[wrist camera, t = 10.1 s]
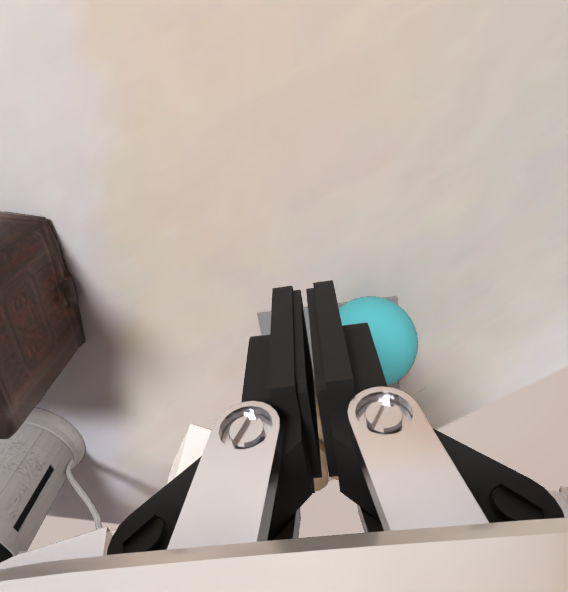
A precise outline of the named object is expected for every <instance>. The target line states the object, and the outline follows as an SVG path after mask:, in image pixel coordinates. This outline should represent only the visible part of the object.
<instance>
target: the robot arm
mask: <svg viewBox="0 0 568 592" xmlns="http://www.w3.org/2000/svg"><path fill="white" fill-rule="evenodd" d="M313 284H314V288H310V289H306V291H307V302H308V313H309V324H310V335H311V346H312V357H313V368H314V377H313V368H312V361H311V355H310V348H309V342H308V335H307V329H306V322H305V316H304V310H303V303H302V297H301V291H300V290H295V291H293V287H292V286H287V287H280V288H273V293H272V311H271V329H270V335H262V336H254V337H250V340H249V347H248V355H247V363H246V370H245V378H244V386H243V394H242V402H241V403H239V404H236V405H233V406H232V407H230V408H228V409H227V410H225V411H224V412H223V413H222V414H221V415H220V416H219V417H218V418H217V420H216V422H215V423H214V425H213V427H212V430H211V433H210V435H209V438H208V441H207V443H206V446H205V449H204V451H203V454H202V456H201V457H200V458H198V459H197V460H196V461H195V462H194V463H192V464H191V465H190V466H189V467H187V468H186V469H185V470H184V471H183V472H181V473H180V474H179V475H178V476H177V477H175V478H174V479H173V480H172V481H170V482H169V483H168V484H167V485H166V486H164V487H163V488H162V489H161V490H160V491H158V492H157V493H156V494H155V495H153V496H152V497H151V498H150V499H149V500H147V501H146V502H145V503H144V504H143V505H141V506H140V507H139V508H138V509H137V510H135V511H134V512H133V513H132V514H130V515H129V516H128V517H127V518H126V519H125V520H124V521H123V522H122V523H121V524H120V525H119V527H118V528H117V529H116V530H113V531H110V530H109V529H108V527H104V528H101V529H98V530H95V531H92V532H89V533H85V534H82V535H79V536H76V537H73V538H70V539H66V540H63V541H60V542H57V543H54V544H51V545H48V546H45V547H42V548H38V549H35V550H32V551H29V552H25V553H22V554H19V555H16V556H13V557H11V558H9V559H7V560H5V561H3V562H1V563H0V592H568V487H562V486H561V487H560V489H559V492H554V491H547V490H546V489H545V488H544V487H542V486H541V485H539V484H538V483H536V482H534V481H533V480H531V479H530V478H528V477H526V476H524V475H522V474H520V473H518V472H516V471H514V470H512V469H510V468H508V467H506V466H504V465H503V464H501V463H499V462H497V461H495V460H493V459H491V458H489V457H487V456H485V455H483V454H481V453H479V452H477V451H475V450H474V449H472V448H469V447H468V446H466V445H464V444H462V443H460V442H458V441H456V440H454V439H452V438H450V437H448V436H446V435H444V434H442V433H441V432H439V431H437V430H435V429H433V428H432V427H431V425H430V423H429V422H428V420H427V418H426V417H425V415H424V413H423V412H422V410H421V408H420V407H419V405H418V404H417V402H416V401H415V400H414V399H413V398H412V397H411V396H410V395H408V394H407V393H405V392H403V391H401V390H398V389H395V388H391V387H388V386H387V383H386V380H385V376H384V373H383V370H382V367H381V364H380V360H379V357H378V354H377V351H376V347H375V344H374V341H373V338H372V335H371V331H370V328H369V325H368V323H367V322H366V323H358V324H350V325H342V322H341V317H340V313H339V308H338V303H337V299H336V294H335V289H334V284H333V280H332V281H324V282H317V283H313ZM314 378H315V387H316V394H317V400H318V407H319V413H320V420H321V426H322V433H323V439H324V446H325V452H326V459H327V465H328V471H329V477H334V476H338V478H339V485H340V492H342V493H343V494H344V495H346V496H347V497H348V498H350V499H351V500H352V501H354V502H355V503H356V504H357V505H358V512H359V516H360V519H361V522H362V525H363V528H364V531H365V533H358V534H345V535H332V536H321V537H308V538H298V536H299V527H300V519H301V517H300V507H301V506H302V505H303V503H304V502H305V501H306V500H307V499H308V498H309V497H310V496H311V495H312V493H315V487H314V478H322V468H321V457H320V445H319V434H318V423H317V411H316V400H315V388H314Z"/></svg>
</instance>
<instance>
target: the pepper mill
mask: <svg viewBox="0 0 568 592" xmlns="http://www.w3.org/2000/svg"><path fill="white" fill-rule="evenodd" d="M83 343H85V337H84V333H83V328H82V323H81V318H80V313H79V308H78V297H77V293H76V290H75V287H74V284H73V281H72V278H71V275H70V274H69V272H68V270H67V267H66V264H65V261H64V259H63V256H62V253H61V250H60V247H59V244H58V242H57V240H56V238H55V236H54V234H53V232H52V230H51V228H50V226H49V224H48V222H47V220H46V218H45V217H40V216H33V215H26V214H19V213H12V212H0V439H9V438H10V437H11V436H13V435H14V434H15V433H16V432H17V431H18V429H19V428H20V427H21V425H22V424H23V423H24V421H25V420H26V419H27V417H28V416H29V415H30V413H31V412H32V411H33V409H34V408H35V406H36V405H37V404H38V402H39V401H40V400H41V398H42V397H43V396H44V394H45V393H46V392H47V390H48V389H49V388H50V386H51V385H52V383H53V382H54V381H55V379H56V378H57V377H58V375H59V374H60V372H61V371H62V370H63V368H64V367H65V366H66V364H67V363H68V362H69V360H70V359H71V357H72V356H73V355H74V353H75V352H76V351H77V349H78V348H79V347H80V346H81V345H82V344H83Z"/></svg>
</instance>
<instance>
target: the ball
mask: <svg viewBox="0 0 568 592" xmlns="http://www.w3.org/2000/svg"><path fill="white" fill-rule="evenodd" d="M339 313H340V317H341V322H342V325H350V324H358V323H366V322H367V323H368V325H369V328H370V331H371V335H372V338H373V341H374V344H375V347H376V351H377V354H378V357H379V360H380V364H381V367H382V370H383V373H384V376H385V380H386V383H387V385H390V384H392V383H394V382H396V381H398V380H399V379H401V378H402V377H403V376H404V375H405V374H406V373H407V372H408V371H409V369H410V368H411V366H412V364H413V362H414V360H415V357H416V354H417V349H418V338H417V333H416V329H415V326H414V324H413V322H412V320H411V318H410V317H409V316H408V314H407V313H406V312H405V311H404V310H403V309H402V308H401V307H399V306H398V305H397V304H395V303H393V302H391V301H389V300H387V299H384V298H380V297H361V298H357V299H354V300H351V301H349V302H348V303H346V304H344V305H343V306H341V307H340V308H339Z"/></svg>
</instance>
